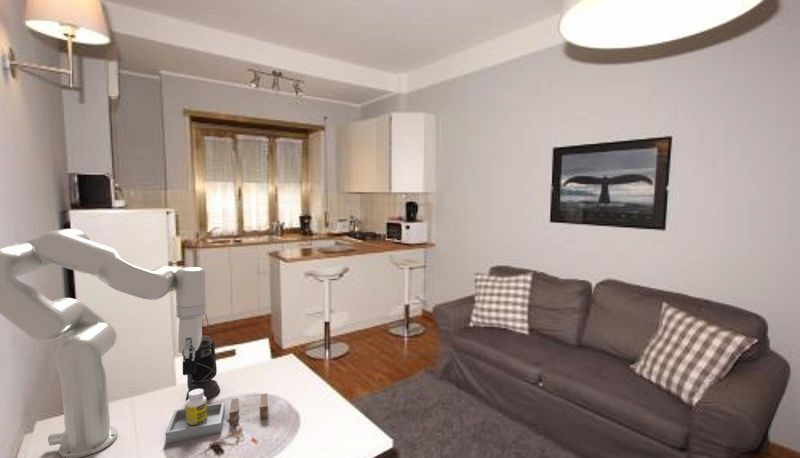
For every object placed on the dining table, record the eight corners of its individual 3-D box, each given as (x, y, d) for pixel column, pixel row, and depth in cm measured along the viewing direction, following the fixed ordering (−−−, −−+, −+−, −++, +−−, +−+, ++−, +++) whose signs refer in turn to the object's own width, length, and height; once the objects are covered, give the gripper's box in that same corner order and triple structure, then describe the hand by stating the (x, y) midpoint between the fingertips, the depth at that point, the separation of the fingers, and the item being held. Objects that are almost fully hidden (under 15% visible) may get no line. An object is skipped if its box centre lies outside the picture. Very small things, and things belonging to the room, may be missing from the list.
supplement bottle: (198, 429, 111) (197, 397, 110) (182, 427, 112) (180, 395, 111) (211, 419, 116) (210, 388, 116) (196, 417, 117) (194, 386, 117)
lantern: (204, 383, 140) (200, 303, 138) (229, 387, 137) (225, 305, 135) (176, 401, 128) (171, 313, 126) (202, 405, 125) (198, 316, 123)
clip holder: (229, 425, 115) (229, 412, 114) (231, 411, 122) (231, 399, 122) (267, 418, 118) (267, 405, 118) (267, 405, 126) (267, 393, 125)
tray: (166, 443, 106) (165, 432, 106) (175, 419, 118) (174, 410, 117) (221, 432, 111) (220, 422, 111) (225, 410, 122) (224, 401, 122)
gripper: (182, 303, 118) (183, 356, 119) (169, 320, 102) (171, 382, 103) (209, 301, 121) (210, 354, 122) (201, 317, 104) (202, 378, 106)
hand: (192, 366), depth 113 cm, fingers open, 9 cm apart
